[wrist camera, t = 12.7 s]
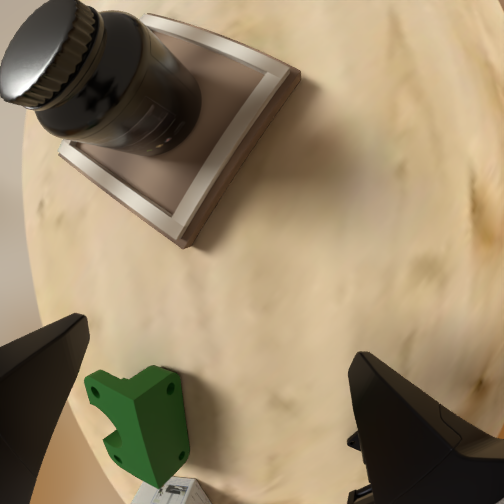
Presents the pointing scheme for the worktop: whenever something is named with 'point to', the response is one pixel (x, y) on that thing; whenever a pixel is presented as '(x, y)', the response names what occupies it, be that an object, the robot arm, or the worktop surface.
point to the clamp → (143, 421)
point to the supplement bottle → (100, 79)
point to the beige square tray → (194, 133)
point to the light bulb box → (172, 493)
